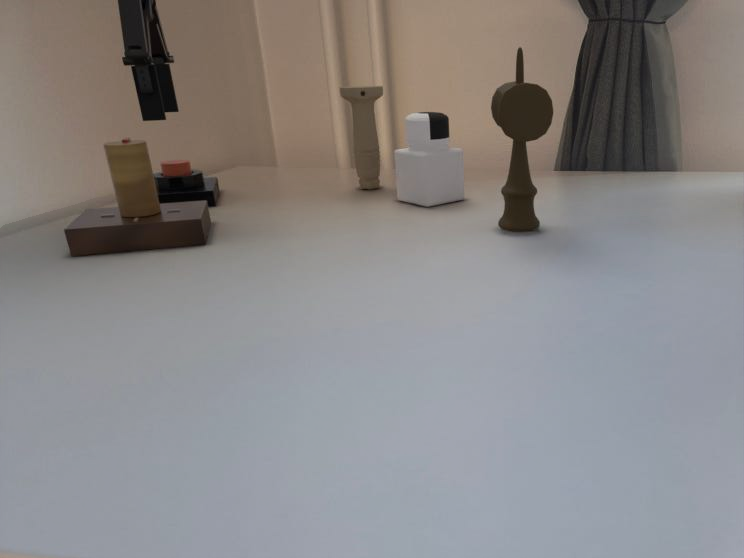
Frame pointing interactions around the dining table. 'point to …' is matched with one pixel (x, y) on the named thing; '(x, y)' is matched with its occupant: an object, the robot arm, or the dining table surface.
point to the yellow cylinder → (132, 177)
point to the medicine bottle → (429, 162)
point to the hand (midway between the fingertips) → (162, 116)
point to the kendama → (520, 144)
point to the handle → (365, 133)
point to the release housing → (187, 188)
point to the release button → (176, 167)
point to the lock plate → (138, 229)
